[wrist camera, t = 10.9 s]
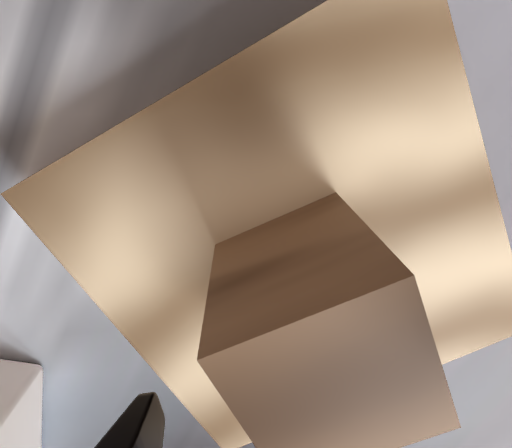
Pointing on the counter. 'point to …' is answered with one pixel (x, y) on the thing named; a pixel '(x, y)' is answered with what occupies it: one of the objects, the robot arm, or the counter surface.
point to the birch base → (286, 183)
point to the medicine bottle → (20, 404)
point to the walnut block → (322, 336)
